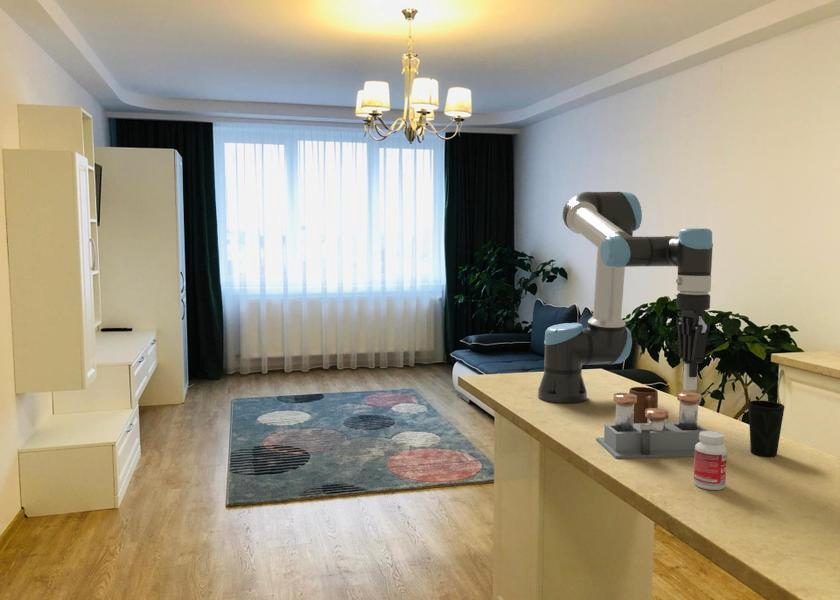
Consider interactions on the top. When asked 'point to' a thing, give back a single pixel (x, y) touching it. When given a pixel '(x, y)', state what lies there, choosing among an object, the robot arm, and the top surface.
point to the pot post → (645, 438)
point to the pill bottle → (710, 461)
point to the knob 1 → (624, 411)
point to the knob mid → (656, 418)
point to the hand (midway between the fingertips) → (689, 389)
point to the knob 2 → (688, 410)
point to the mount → (651, 441)
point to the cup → (765, 427)
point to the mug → (643, 402)
